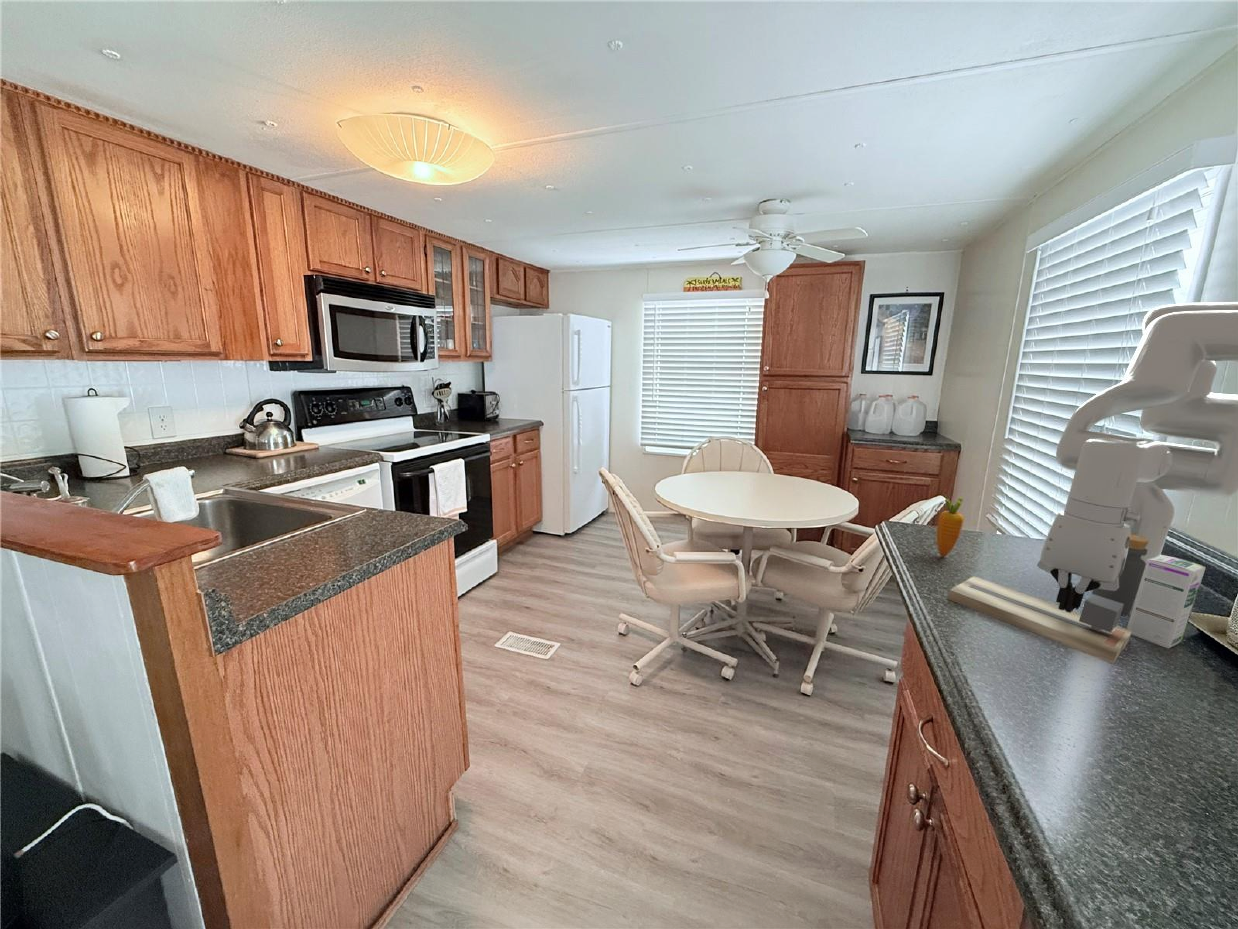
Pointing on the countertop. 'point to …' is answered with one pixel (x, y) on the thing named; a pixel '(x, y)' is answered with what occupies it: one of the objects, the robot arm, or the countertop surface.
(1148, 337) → the robot arm
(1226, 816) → the countertop surface
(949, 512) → the carrot
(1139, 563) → the bottle
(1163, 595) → the syrup box
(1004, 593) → the fader board
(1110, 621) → the fader knob
